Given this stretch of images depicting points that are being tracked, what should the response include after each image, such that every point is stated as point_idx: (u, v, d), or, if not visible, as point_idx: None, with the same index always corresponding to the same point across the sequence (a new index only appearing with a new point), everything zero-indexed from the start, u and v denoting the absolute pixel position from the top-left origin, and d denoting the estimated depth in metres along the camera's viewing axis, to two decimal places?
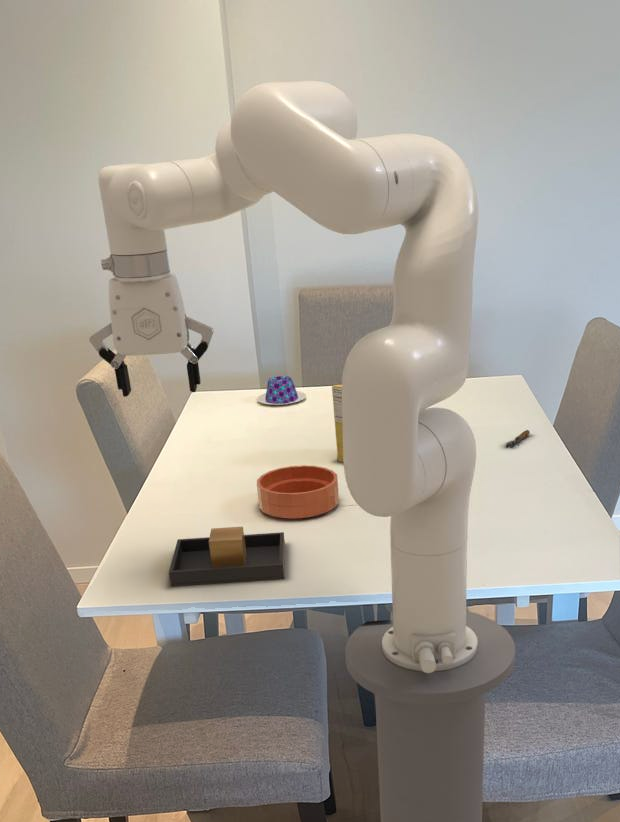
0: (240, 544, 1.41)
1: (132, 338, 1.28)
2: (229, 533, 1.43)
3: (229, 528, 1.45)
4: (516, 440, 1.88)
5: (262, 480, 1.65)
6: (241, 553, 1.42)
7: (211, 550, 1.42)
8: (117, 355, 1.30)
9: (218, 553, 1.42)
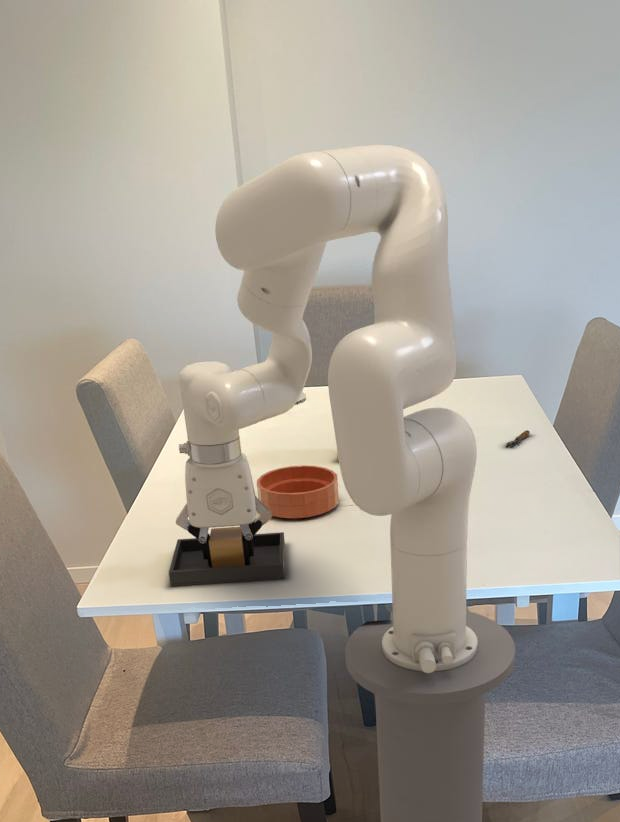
0: (240, 544, 1.41)
1: (206, 513, 1.38)
2: (229, 533, 1.43)
3: (229, 528, 1.45)
4: (516, 440, 1.88)
5: (262, 480, 1.65)
6: (241, 553, 1.42)
7: (211, 550, 1.42)
8: (201, 531, 1.41)
9: (218, 553, 1.42)
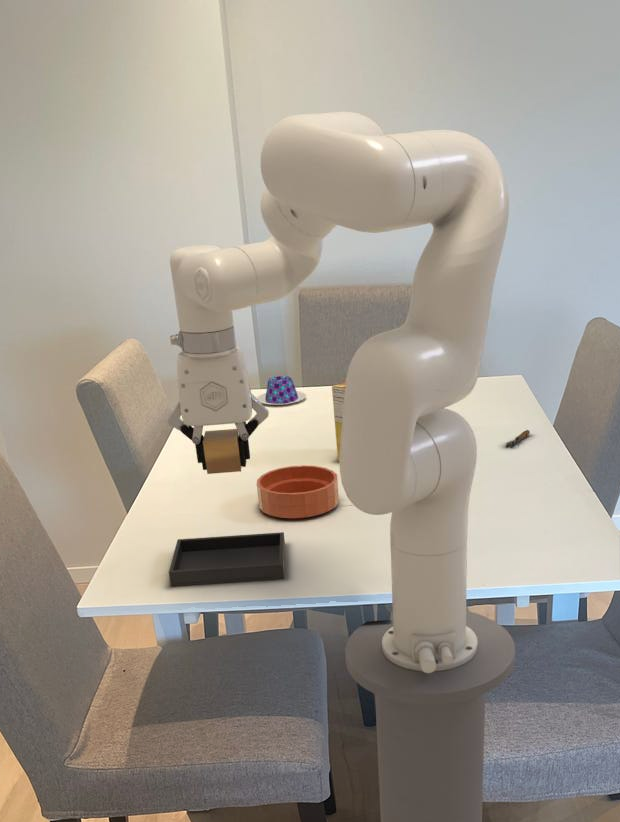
0: (236, 444, 1.35)
1: (199, 410, 1.32)
2: (223, 434, 1.37)
3: (224, 430, 1.38)
4: (516, 440, 1.88)
5: (262, 480, 1.65)
6: (237, 454, 1.36)
7: (205, 451, 1.35)
8: (194, 431, 1.35)
9: (213, 454, 1.36)
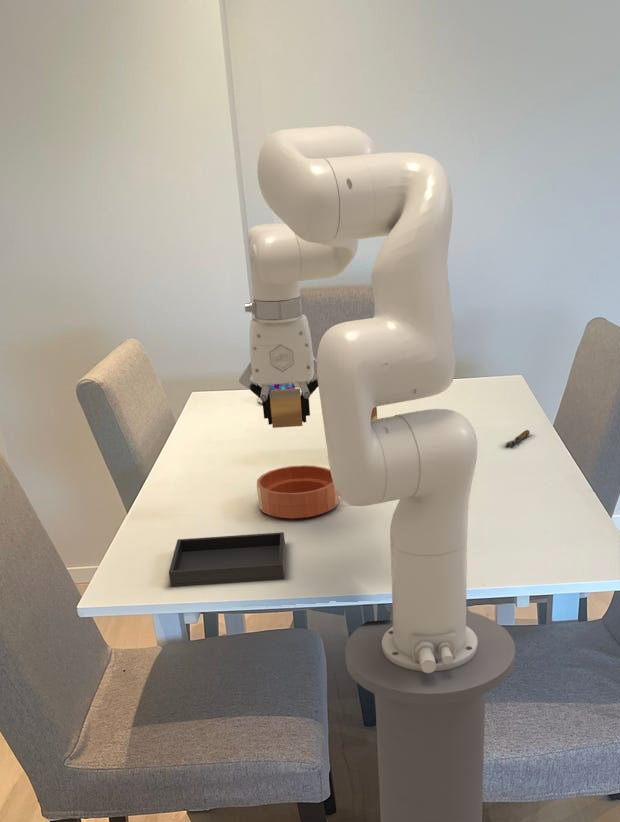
0: (299, 401, 1.53)
1: (268, 370, 1.49)
2: (287, 392, 1.54)
3: (287, 389, 1.56)
4: (516, 440, 1.88)
5: (262, 480, 1.65)
6: (299, 410, 1.53)
7: (272, 407, 1.53)
8: (263, 389, 1.52)
9: (278, 410, 1.53)
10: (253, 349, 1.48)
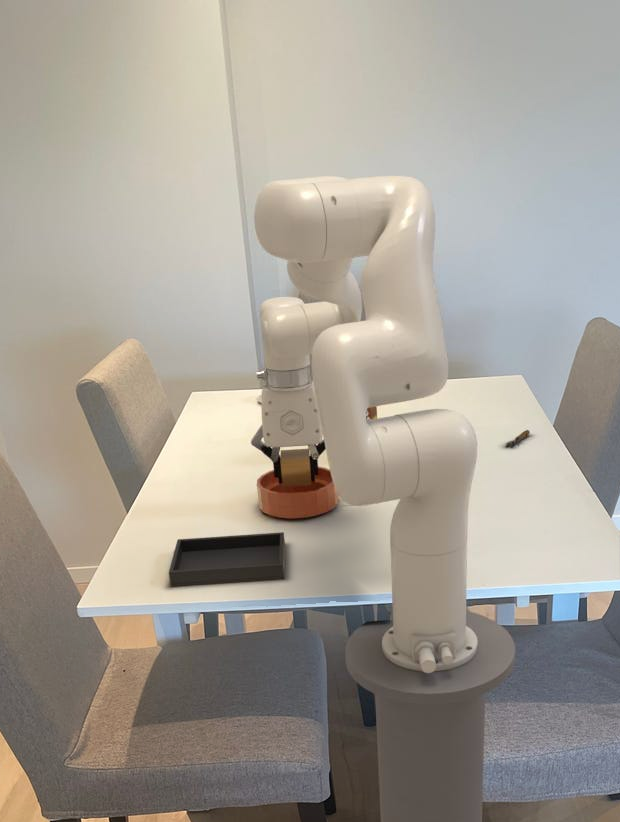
0: (308, 462, 1.59)
1: (279, 434, 1.56)
2: (297, 453, 1.61)
3: (297, 450, 1.63)
4: (516, 440, 1.88)
5: (262, 480, 1.65)
6: (308, 471, 1.60)
7: (282, 468, 1.60)
8: (273, 451, 1.59)
9: (288, 470, 1.60)
10: (264, 414, 1.55)
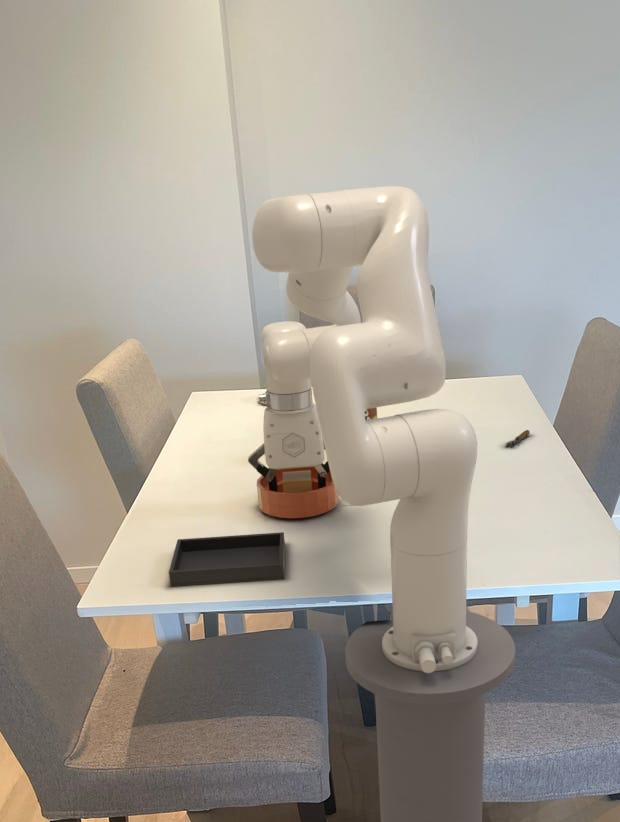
0: (310, 484, 1.61)
1: (281, 456, 1.58)
2: (299, 475, 1.63)
3: (299, 471, 1.65)
4: (516, 440, 1.88)
5: (262, 480, 1.65)
6: None
7: (284, 490, 1.62)
8: (270, 470, 1.61)
9: (290, 492, 1.62)
10: (267, 437, 1.57)
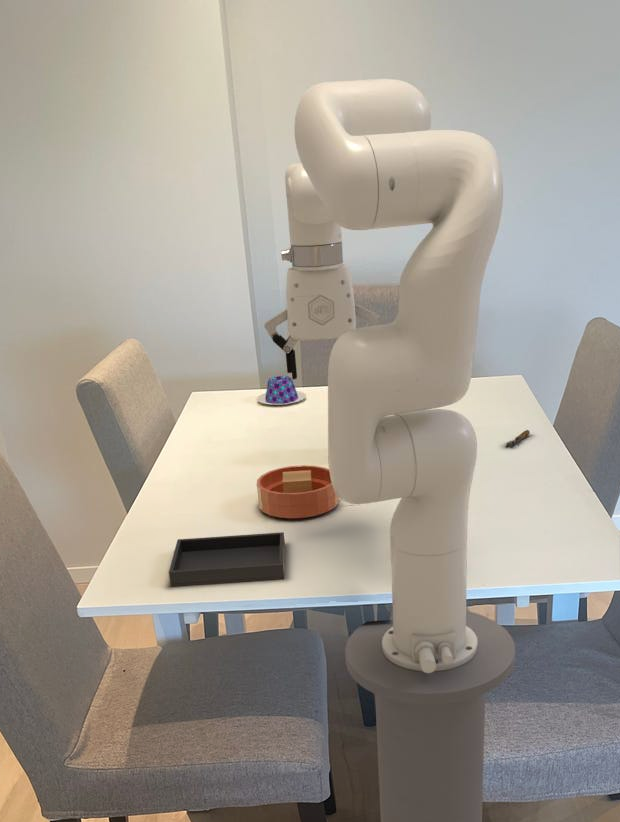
0: (310, 484, 1.61)
1: (307, 324, 1.37)
2: (299, 475, 1.63)
3: (299, 471, 1.65)
4: (516, 440, 1.88)
5: (262, 480, 1.65)
6: None
7: (284, 490, 1.62)
8: (290, 340, 1.40)
9: (290, 492, 1.62)
10: (290, 300, 1.36)
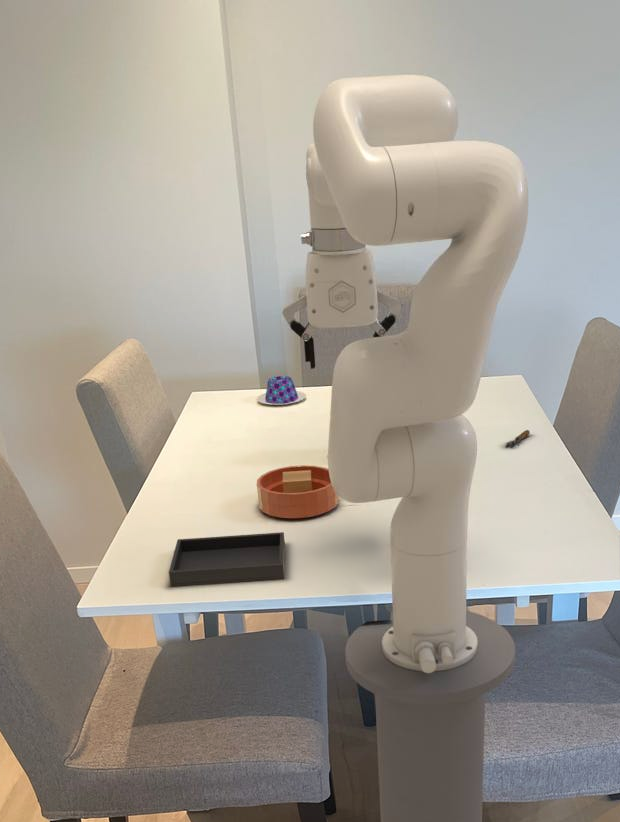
0: (310, 484, 1.61)
1: (327, 311, 1.31)
2: (299, 475, 1.63)
3: (299, 471, 1.65)
4: (516, 440, 1.88)
5: (262, 480, 1.65)
6: None
7: (284, 490, 1.62)
8: (308, 328, 1.34)
9: (290, 492, 1.62)
10: (310, 286, 1.30)
